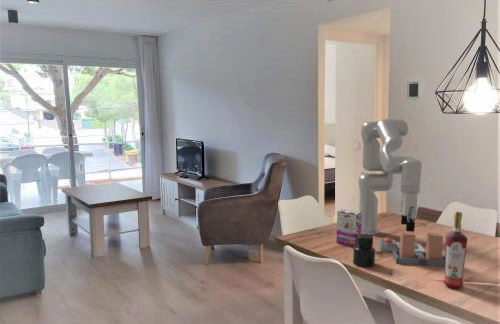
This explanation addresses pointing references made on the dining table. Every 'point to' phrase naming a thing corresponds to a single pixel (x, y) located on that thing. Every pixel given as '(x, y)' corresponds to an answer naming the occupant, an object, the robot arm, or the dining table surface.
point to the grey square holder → (387, 246)
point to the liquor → (455, 254)
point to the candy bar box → (348, 227)
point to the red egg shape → (387, 240)
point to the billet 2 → (434, 246)
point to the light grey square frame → (415, 247)
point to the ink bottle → (364, 251)
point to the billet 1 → (407, 244)
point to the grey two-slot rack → (418, 259)
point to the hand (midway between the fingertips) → (407, 227)
